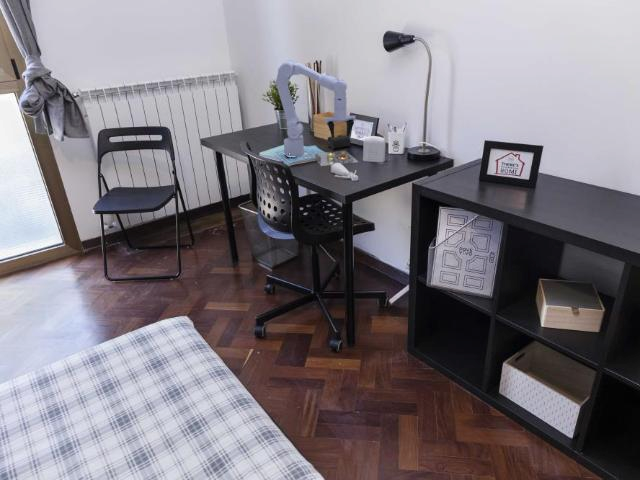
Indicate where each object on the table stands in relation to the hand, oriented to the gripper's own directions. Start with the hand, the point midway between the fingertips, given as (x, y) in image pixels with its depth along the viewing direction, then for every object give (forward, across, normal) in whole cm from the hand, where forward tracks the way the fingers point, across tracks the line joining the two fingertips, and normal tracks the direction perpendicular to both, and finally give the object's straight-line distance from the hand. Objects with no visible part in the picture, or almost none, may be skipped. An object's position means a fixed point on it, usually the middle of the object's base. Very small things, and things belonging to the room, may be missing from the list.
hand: (340, 136), depth 230 cm
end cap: (+10, +3, +13) cm, 17 cm away
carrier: (+10, -4, -4) cm, 12 cm away
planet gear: (+9, -1, -9) cm, 12 cm away
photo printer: (+10, +12, -14) cm, 21 cm away
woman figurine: (+10, -6, -28) cm, 30 cm away
